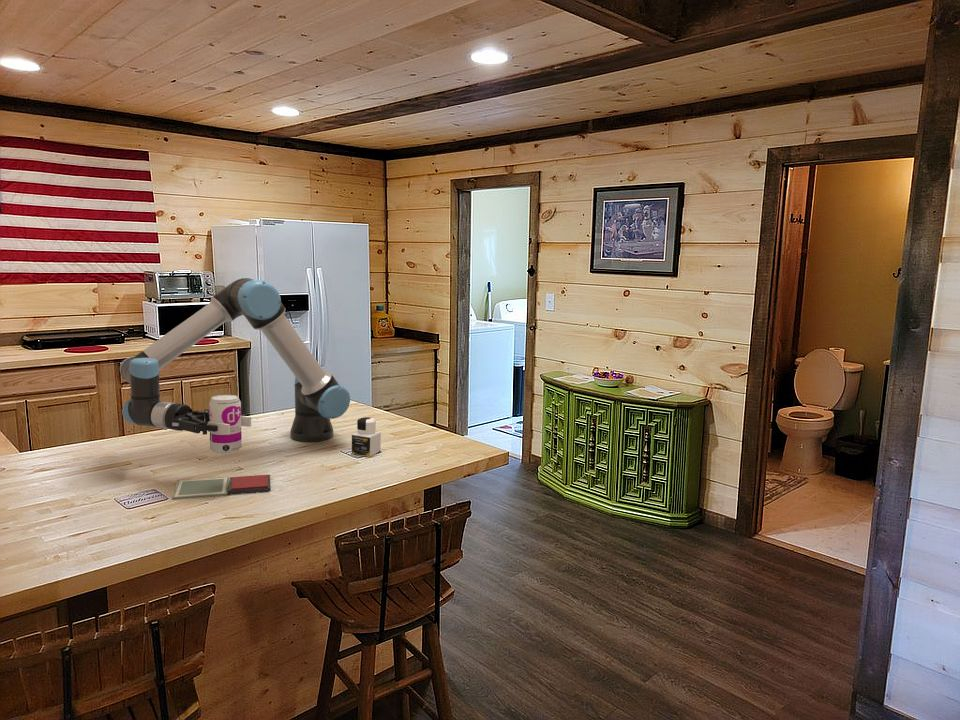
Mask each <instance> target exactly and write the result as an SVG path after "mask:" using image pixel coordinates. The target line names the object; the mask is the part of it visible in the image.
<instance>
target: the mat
mask: <svg viewBox="0 0 960 720" xmlns="http://www.w3.org/2000/svg"><path fill="white" fill-rule="evenodd" d="M229 482H230V477H229V476H226V477H214V478H213V477H209V478H198V479H184V480H182V479H181V480H177V483H176V486H175V489H174V491H173V494H172V498H171V499H172V500H183V499H184V500H186V499H196V498H197V499H199V498H210V497H213V498H214V497H221V496H222V497H225V495H226V496H228V490H229Z"/></svg>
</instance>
